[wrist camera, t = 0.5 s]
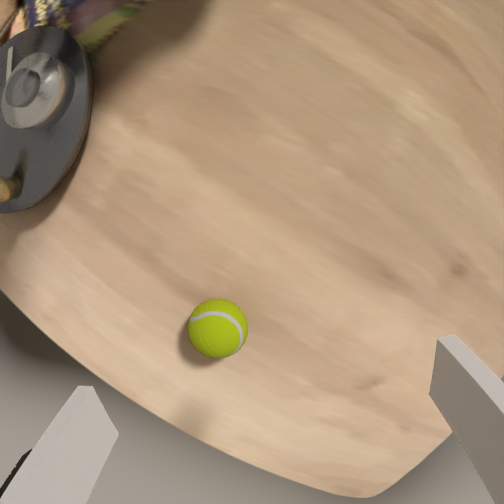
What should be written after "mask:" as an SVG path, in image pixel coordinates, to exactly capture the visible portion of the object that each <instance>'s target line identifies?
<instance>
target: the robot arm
mask: <svg viewBox="0 0 504 504" xmlns="http://www.w3.org/2000/svg"><path fill="white" fill-rule="evenodd" d="M429 395H430V397H431V398H432V400H433V401H434V403H435V404H436V406H437V407H438V409H439V410H440V412H441V413H442V415H443V417H444V418H445V420H446V421H447V423H448V424H449V426H450V428H451V429H452V431H453V432H454V434H455V436H456V437H457V439H458V440H459V442H460V444H461V445H462V447H463V448H464V450H465V452H466V453H467V455H468V457H469V458H470V460H471V462H472V463H473V465H474V467H475V469H476V470H477V472H478V474H479V475H480V477H481V479H482V481H483V482H484V484H485V486H486V488H487V490H488V491H489V493H490V495H491V497H492V499H493V500H494V502H495V504H504V383H503V382H502V381H501V380H500V379H499V378H498V377H497V376H496V375H495V374H494V373H493V372H492V371H491V369H490V368H489V367H488V366H487V365H486V364H485V363H484V362H483V361H482V360H481V359H480V358H479V357H478V356H477V355H476V354H475V353H474V352H473V351H472V350H471V349H470V348H469V347H468V346H466V345H465V344H464V343H463V342H462V341H461V340H460V339H459V338H458V337H457V336H456V335H455V334H454V333H453V334H450V335H447V336H444V337H441V338H438V339H437V345H436V353H435V361H434V368H433V374H432V380H431V386H430V392H429ZM118 435H119V433H118V432H117V430H116V428H115V427H114V425H113V423H112V421H111V420H110V418H109V416H108V414H107V413H106V411H105V409H104V407H103V405H102V403H101V402H100V400H99V398H98V396H97V394H96V392H95V390H94V388H93V386H78V387H77V388H76V390H75V391H74V392H73V394H72V395H71V397H70V398H69V399H68V400H67V402H66V403H65V405H64V406H63V407H62V409H61V410H60V411H59V413H58V414H57V415H56V417H55V418H54V420H53V421H52V423H51V424H50V425H49V427H48V428H47V429H46V431H45V432H44V434H43V435H42V437H41V438H40V439H39V441H38V442H37V444H36V445H35V446H34V448H33V449H31V450H29V451H28V452H27V453H26V454H24V455H23V456H22V457H21V459H20V460H19V462H18V463H17V465H16V467H15V468H14V469H13V470H12V472H11V475H9V477H8V478H7V479H6V481H5V482H4V484H3V485H2V487H1V488H0V504H87V502H88V500H89V497H90V495H91V493H92V491H93V488H94V486H95V484H96V482H97V480H98V478H99V475H100V473H101V471H102V469H103V467H104V465H105V462H106V460H107V458H108V456H109V454H110V452H111V450H112V448H113V445H114V443H115V441H116V439H117V437H118Z"/></svg>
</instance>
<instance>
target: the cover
mask: <svg viewBox="0 0 504 504" xmlns="http://www.w3.org/2000/svg"><path fill="white" fill-rule="evenodd" d="M74 89H75V77H74V73H73V70H72V69H71V67H70V66H69V65H68V64H66V63H65V62H63V61H61V60H59V59H57V58H55V57H53V56H51V55H49V54H46V53H42V52H38V53H34V54H31V55H29V56H28V57H26V58H25V59H23V60H22V61H21V62H20V63H19V64H18V65H17V66H16V67H15V69H14V70H13V71H12V73H11V74H10V76H9V78H8V80H7V82H6V85H5V87H4V91H3V95H2V103H1V106H2V114H3V117H4V119H5V121H6V122H7V123H8V125H10V126H11V127H14V128H21V129H29V130H36V131H41V130H45V129H48V128H50V127H52V126H53V125H54V124H56V123H57V122H58V121H59V120H60V119H61V118H62V116H63V115H64V114H65V112H66V111H67V109H68V107H69V105H70V103H71V100H72V97H73V94H74Z"/></svg>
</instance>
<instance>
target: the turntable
mask: <svg viewBox="0 0 504 504" xmlns="http://www.w3.org/2000/svg"><path fill="white" fill-rule="evenodd" d="M38 52H42V53H46V54H49V55H51V56H53V57H55V58H57V59H59V60H61V61H63V62H65V63H66V64H68V65H69V66H70V67H71V69H72V70H73V73H74V77H75V89H74V94H73V97H72V100H71V103H70V105H69V107H68V109H67V111H66V112H65V114H64V115H63V116H62V118H61V119H60V120H59V121H58V122H57V123H56V124H54V125H53V126H52V127H50V128H48V129H45V130H41V131H36V130H29V129H21V128H14V127H11V126H10V125H8V123H7V122H6V121H5V119H4V117H3V114H2V106H1V103H2V95H3V91H4V87H5V85H6V82H7V80H8V78H9V76H10V74H11V73H12V71H13V70H14V69H15V67H16V66H17V65H18V64H19V63H20V62H21V61H22V60H23V59H25V58H26V57H28V56H29V55H31V54H34V53H38ZM93 94H94V80H93V72H92V67H91V63H90V59H89V57H88V54H87V52H86V50H85V49H84V47H83V46H82V44H81V43H80V42H79V41H78V40H77V39H76V38H75V37H74V36H72V35H70V34H69V33H67V32H66V31H64V30H62V29H61V28H58V27H54V26H37V27H33V28H30V29H27V30H25V31H23V32H20V33H19V34H17V35H15V36H14V37H12V38H11V39H10V40H8V41H7V42H6V43H4V44H3V45H2V46H1V47H0V213H12V212H16V211H21V210H25V209H28V208H30V207H33V206H35V205H37V204H38V203H40V202H41V201H43V200H44V199H45V198H46V197H47V196H49V195H50V194H51V193H52V192H53V191H54V190H55V189H56V187H57V186H58V185H59V184H60V183H61V181H62V180H63V179H64V177H65V176H66V174H67V173H68V171H69V170H70V168H71V166H72V164H73V163H74V161H75V159H76V157H77V155H78V152H79V150H80V148H81V146H82V143H83V140H84V138H85V135H86V131H87V128H88V124H89V121H90V116H91V111H92V104H93Z"/></svg>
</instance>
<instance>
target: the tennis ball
mask: <svg viewBox="0 0 504 504" xmlns="http://www.w3.org/2000/svg"><path fill="white" fill-rule="evenodd" d="M188 334H189V338H190V341H191V342H192V344H193V346H194V347H195V348H196V349H197V350H198V351H199V352H201V353H202V354H204V355H206V356H208V357H212V358H223V357H228V356H231V355H233V354H234V353H236V352H237V351H238V350H239V349H240V348H241V347H242V346H243V344H244V343H245V341H246V338H247V334H248V324H247V320H246V317H245V315H244V313H243V312H242V311H241V309H240V308H239V307H238V306H237V305H235V304H234V303H232V302H230V301H228V300H224V299H211V300H208V301H205V302H203V303H201V304H200V305H199V306H197V307H196V308H195V309H194V311H193V312H192V314H191V317H190V319H189V322H188Z"/></svg>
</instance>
